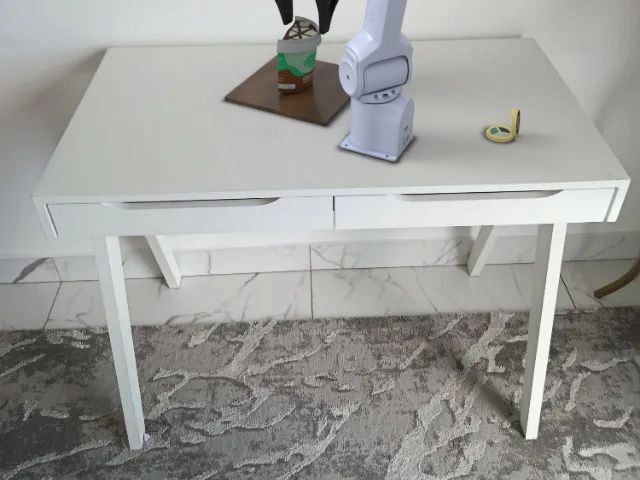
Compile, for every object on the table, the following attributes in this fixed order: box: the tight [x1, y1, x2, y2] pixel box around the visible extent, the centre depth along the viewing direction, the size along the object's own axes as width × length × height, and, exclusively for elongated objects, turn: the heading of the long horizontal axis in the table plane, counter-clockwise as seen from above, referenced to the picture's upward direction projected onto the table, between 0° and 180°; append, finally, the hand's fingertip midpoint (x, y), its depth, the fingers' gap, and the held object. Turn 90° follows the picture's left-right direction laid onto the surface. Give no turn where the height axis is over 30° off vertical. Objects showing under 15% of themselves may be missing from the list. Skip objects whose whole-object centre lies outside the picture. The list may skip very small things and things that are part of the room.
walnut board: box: [224, 54, 351, 127], centre depth 119 cm, size 20×20×1 cm
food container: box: [276, 15, 322, 93], centre depth 116 cm, size 12×6×10 cm, turn 167°
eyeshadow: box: [485, 107, 521, 143], centre depth 105 cm, size 4×5×5 cm
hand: (306, 27), depth 115 cm, fingers open, 7 cm apart
